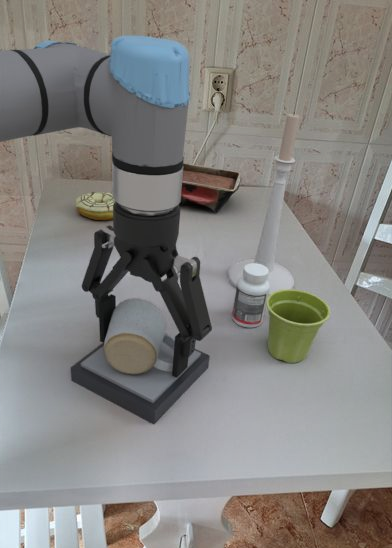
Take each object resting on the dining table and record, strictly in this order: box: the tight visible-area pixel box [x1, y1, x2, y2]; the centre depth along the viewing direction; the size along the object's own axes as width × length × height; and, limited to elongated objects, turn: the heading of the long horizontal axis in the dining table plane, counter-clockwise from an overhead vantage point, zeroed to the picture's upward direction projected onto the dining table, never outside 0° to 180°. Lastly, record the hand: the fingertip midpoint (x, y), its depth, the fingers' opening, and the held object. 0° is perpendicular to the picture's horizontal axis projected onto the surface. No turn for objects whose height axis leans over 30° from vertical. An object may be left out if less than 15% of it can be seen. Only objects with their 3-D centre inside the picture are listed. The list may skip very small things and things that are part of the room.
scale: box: [69, 342, 211, 425], centre depth 69 cm, size 14×14×3 cm
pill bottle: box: [231, 263, 270, 329], centre depth 80 cm, size 5×5×10 cm
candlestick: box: [227, 112, 301, 296], centre depth 85 cm, size 13×13×30 cm
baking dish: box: [181, 162, 242, 214], centre depth 120 cm, size 14×18×10 cm
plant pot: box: [266, 288, 331, 364], centre depth 75 cm, size 9×9×9 cm
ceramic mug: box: [104, 297, 175, 374], centre depth 65 cm, size 11×8×8 cm
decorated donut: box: [75, 191, 115, 221], centre depth 110 cm, size 10×11×4 cm
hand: (142, 354), depth 68 cm, fingers closed on ceramic mug, 11 cm apart
